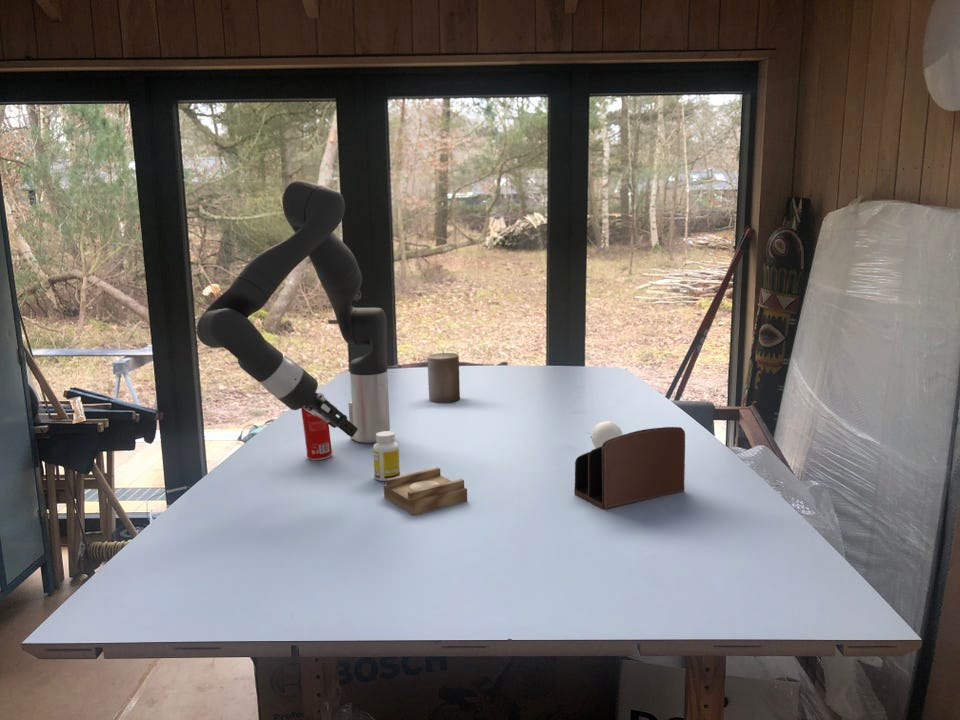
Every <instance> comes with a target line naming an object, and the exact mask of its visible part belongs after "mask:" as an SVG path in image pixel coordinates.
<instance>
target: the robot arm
mask: <svg viewBox="0 0 960 720" xmlns="http://www.w3.org/2000/svg"><path fill="white" fill-rule="evenodd" d="M281 202H282V203H281V204H282V209H283V213H284V216H285V219H286V220H287V222H288V224H289V225H290V228H291V229H292V231H294V233H293V234H292V235H291V236H289V237H287V238H286V239H284V240H283V241H280V242H279V243H277V244H275V245H273V246H271V247H269V248H268V249H265V250H264V251H262V252H260V253H258V254H256V256H254V257H253V258H252V259H251V260H250V261H249V262H248V263H247V264H246V265H245V266H244V268H243V269H242V270H241V272H240V273H239V274H238V275H237V277H236V278H235V279H234V281H232V284H231V285H230V286H229V287H228V289H226V290H225V291H224V292H223V293H222V294H220V296H219V297H218V298H217V299H216V300H214V301H213V302H212V303H211V305H209V306H208V307H207V309H206V310H205V311H204V312H203V313H202V314H201V315H200V318H199V319H198V322H197V324H196V334H197V338H198V339H199V341H200V342H201V343H202V344H203V345H205V346H207V347H209V348H213V349H219V348H220V349H221V348H224V349H225V350H227V351H228V352H229V353H230V354H231V355H232V356H234V357H235V358H236V360H237V363H238V365H239V368H241V369H242V370H243V371H244V372H246V374H248V375H249V376H250V377H251V378H252V379H254V380H255V381H257V382H258V383H259V384H260V385H261V386H262V387H263V388H264V389H265V390H266V391H267V392H269V394H271V395H272V396H274V397H275V398H276V399H277V400H279V401H280V402H281V403H282V404H284V405H285V406H286V407H288V408H289V409H290V410H292V411H298V410H300V409H301V408H302V407H304V409H305V410H306V411H308V412H309V413H311V414H313V415H314V416H317V417H318V418H321V419H323V420H324V421H325V422H327V423H328V424H329V427H331V428H334V429H335V428H339V429H340V430H341V431H342V432H344V433H345V435H347V436H348V437H349V439H350V440H354V441H355V442H357V443H368V444H369V443H377V441H376V434H377V433H378V432H383V431H391V428H390V427H391V424H390V421H391V420H390V405H389V403H390V402H389V399H390V398H389V383H388V382H389V381H388V344H387V343H388V338H387V337H388V326H387V325H388V320H387V316H386V315H387V314H386V313H385V310H384V309H383V308H380V307H354V306H353V305H352V303H353V301H354V300H355V298H356V296H357V295H358V293H359V291H360V289H361V286H362V283H363V276H362V272H361V269H360V266H359V264H358V262H357V259H356V256H355V255H354V253H353V252H352V251H351V249H350V248H349V247H348V246H347V245H346V244H345V242H343V241H342V239H340V238H339V237H338V236H337V235H336V234H335V233H334V231H335V230H336V229H337V228H338V227H339V225H340V223H342V219H343V217H344V214H345V211H346V203H345V199H344V197H343V195H342V194H341V193H340V191H337V190H335V189H333V188H331V187H328V186H326V185H321V184H319V183H315V182H312V181H309V180H304V179H303V180H301V179H300V180H299V179H298V180H294V181H292V182H289V184H288V185H287V186H286V187H285V188H284V191H283V195H282V201H281ZM307 257H308V258H309V260H310V262H311V264H312V266H313V269H314V270H315V273H316V276H317V278H318V280H319V283H320V285H321V286H322V288H323V290H324V292H325V294H326V296H327V298H328V300H329V303H330V305H331V308H332V310H333V312H334V315H335V318H336V321H337V326H338V328H339V331H340V333H341V336H342V339H343V340H344V341H345V342H346V343H347V344H349V345H352V346H371V347H370V351H369V352H368V353H367V354H365V355H364V356H359V357H357V358H354V359H352V360H351V361H350V362H349V377H350V379H349V380H350V393H351V401H349V402H348V417H347V415H346V414H344V413H343V412H341V410H339V409H338V407H337V406H335V405H333V404H332V403H331V402H330V401H329V400H328V399H327V398H326V397H325V396H324V397H323V396H322V395H319V394H317V393H318V392H317V390H318V386H319V383H318V380H317V379H316V378H315V377H314V376H312V375H311V374H310V373H309V372H307V371H306V370H305V369H304V368H303V367H301V366H300V365H299V364H298V363H296V361H294V360H293V359H291V358H290V357H289V356H287V355H285V354H284V353H282V352H281V351H280V350H279V349H278V348H276V347H275V346H274V345H273V344H271V343H270V342H268V340H266V339H265V338H264V336H263V334H262V332H260V331H259V330H258V328H257V327H256V326H255V325H254V324H253V323H252V321H250V320H249V317H250V316H251V315H253V314H256V313H257V312H259V311H260V310H261V309H262V308H264V307H265V305H266V304H267V302H269V300H270V298H271V297H272V296H273V294H274V293H275V292H276V290H278V288H279V287H280V286H281V284H282V283H283V282H284V280H285V279H286V278H287V277H288V276H289V275H290V273H291V272H292V271H293V270H295V269H296V268H297V267H298V266H299V265H300V264H301V263H302V262H303V261H304V260H305V259H306V258H307ZM348 419H349V420H348Z"/></svg>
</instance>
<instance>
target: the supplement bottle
mask: <svg viewBox="0 0 960 720" xmlns="http://www.w3.org/2000/svg"><path fill="white" fill-rule="evenodd" d="M395 439H396V435H395V432H394V431H391V430H390V431H383V432H378V433H377V434H376V441H377V442H375V443H374V444H373V448H372V449H373V450H372V451H373V454H372V455H373V471H374V472H373V473H374V479H375V480H377V481H380V482H386V479H389V478H393V477H397V476H401V474H400V473H401V468H400V450H399V444H398V443H397V442H396V441H395Z"/></svg>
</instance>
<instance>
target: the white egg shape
mask: <svg viewBox="0 0 960 720" xmlns="http://www.w3.org/2000/svg"><path fill="white" fill-rule="evenodd" d="M591 431H592V432H588V434H591V435H590V439H591V443H592V445H593V446H594V449H596V448H598V447H601V446H602V445H603V443H604V442H605V441H607V440H609V439H612V438H615V437H618V436H621V435H624V434H623V431H622V428H621V427H620V426H619V425H617V424H616V423H614V422H612V421H608V420H607V421H602V422H601V421H600V422H599V423H597V424H596V425H595V426H594V427H593V429H592V430H591Z"/></svg>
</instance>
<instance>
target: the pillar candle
mask: <svg viewBox="0 0 960 720" xmlns="http://www.w3.org/2000/svg"><path fill="white" fill-rule="evenodd" d="M426 358H427V377H428V378H427V379H428V381H427V382H428V400H429V401H430V402H433V403H439V404H441V403H443V404H444V403H454V402H458V401H460V400H461V396H460V395H461V394H460V393H461V391H460V390H461V389H460V360H459V359H460V356H459V354H457V353H454V352H445V351H442V352H437V353H433V354H428V355H427V356H426Z"/></svg>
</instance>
